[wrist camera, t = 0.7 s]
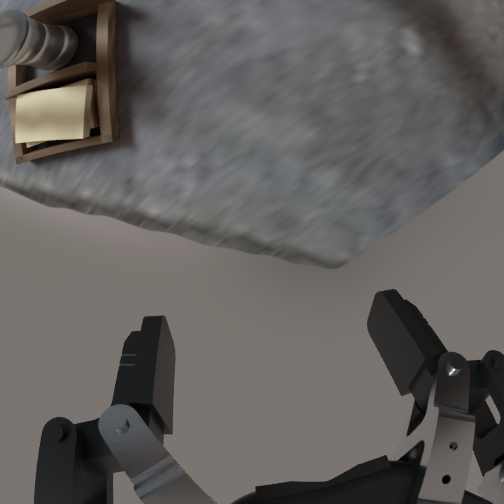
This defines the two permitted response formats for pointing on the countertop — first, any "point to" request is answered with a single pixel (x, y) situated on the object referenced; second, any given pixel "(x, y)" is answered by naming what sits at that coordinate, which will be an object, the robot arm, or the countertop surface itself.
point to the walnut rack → (72, 73)
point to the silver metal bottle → (34, 42)
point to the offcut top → (53, 114)
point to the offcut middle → (94, 114)
